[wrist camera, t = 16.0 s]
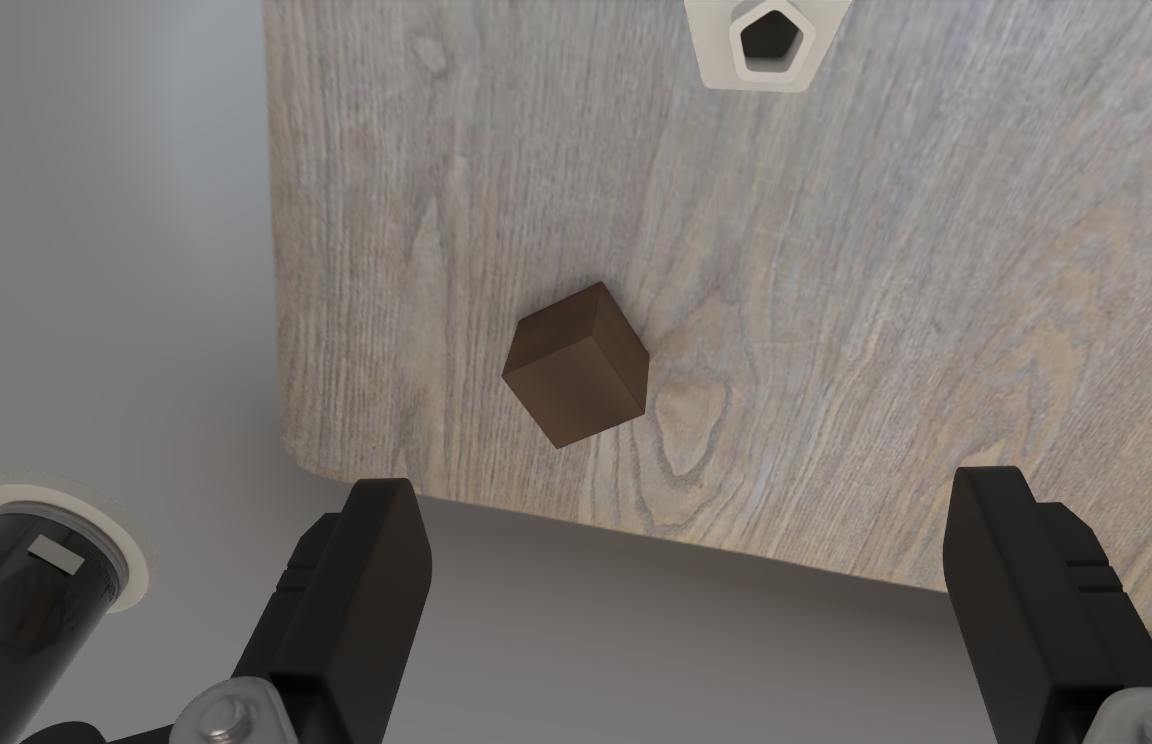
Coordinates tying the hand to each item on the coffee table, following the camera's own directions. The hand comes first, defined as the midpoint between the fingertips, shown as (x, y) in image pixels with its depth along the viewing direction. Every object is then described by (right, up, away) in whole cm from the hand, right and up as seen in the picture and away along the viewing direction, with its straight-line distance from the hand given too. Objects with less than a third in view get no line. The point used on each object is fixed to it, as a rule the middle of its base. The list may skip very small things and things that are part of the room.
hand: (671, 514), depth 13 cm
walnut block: (-1, +4, +32) cm, 32 cm away
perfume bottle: (+5, +19, +21) cm, 29 cm away
